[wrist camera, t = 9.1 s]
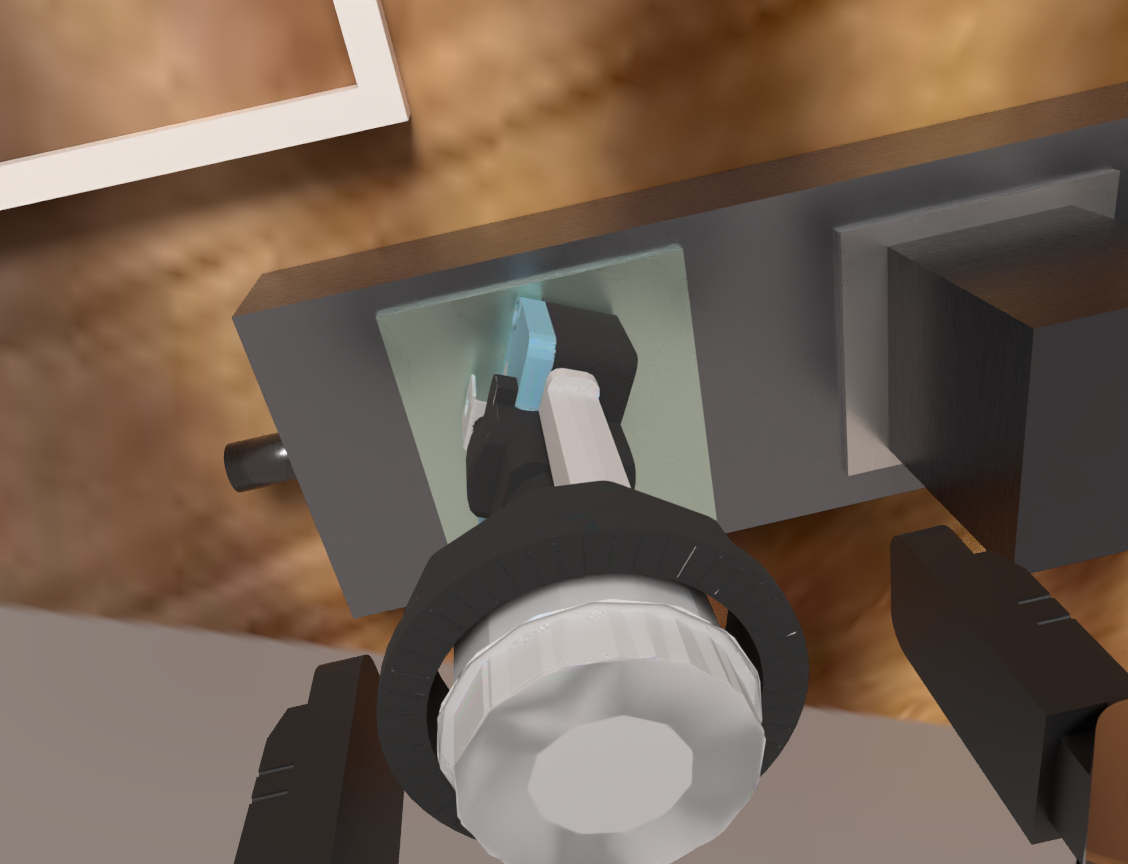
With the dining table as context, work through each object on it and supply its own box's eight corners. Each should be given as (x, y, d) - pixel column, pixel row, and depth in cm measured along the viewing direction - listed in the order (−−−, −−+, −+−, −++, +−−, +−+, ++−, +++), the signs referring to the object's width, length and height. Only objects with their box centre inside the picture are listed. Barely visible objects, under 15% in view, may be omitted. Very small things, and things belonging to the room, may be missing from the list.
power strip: (1294, 44, 20) (1778, 70, 13) (1230, 350, 24) (1575, 505, 16) (185, 291, 19) (27, 464, 12) (301, 562, 23) (232, 818, 16)
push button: (604, 564, 20) (720, 992, 12) (385, 536, 19) (328, 986, 10) (684, 308, 18) (918, 618, 9) (433, 258, 16) (410, 554, 8)
